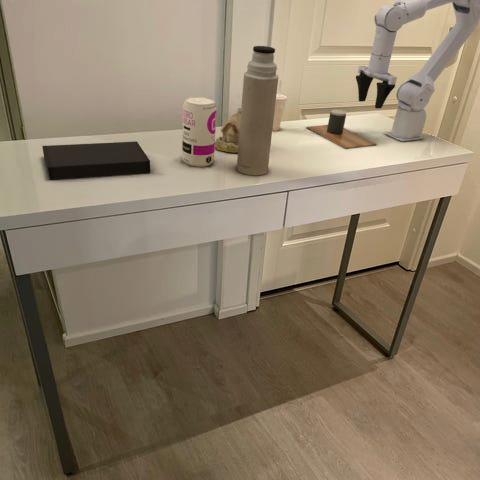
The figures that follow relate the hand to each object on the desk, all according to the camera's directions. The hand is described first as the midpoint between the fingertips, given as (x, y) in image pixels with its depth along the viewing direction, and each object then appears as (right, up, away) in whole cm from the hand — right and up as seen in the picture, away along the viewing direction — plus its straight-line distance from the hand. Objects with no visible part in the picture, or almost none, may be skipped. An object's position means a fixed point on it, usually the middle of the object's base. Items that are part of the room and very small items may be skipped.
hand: (369, 104), depth 152 cm
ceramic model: (-40, -16, -10) cm, 44 cm away
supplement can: (-50, -24, -22) cm, 60 cm away
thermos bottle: (-36, -27, -23) cm, 51 cm away
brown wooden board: (-8, -8, +5) cm, 12 cm away
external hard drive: (-74, -28, -29) cm, 85 cm away
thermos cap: (-9, -6, +7) cm, 13 cm away
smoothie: (-29, -5, +6) cm, 30 cm away
